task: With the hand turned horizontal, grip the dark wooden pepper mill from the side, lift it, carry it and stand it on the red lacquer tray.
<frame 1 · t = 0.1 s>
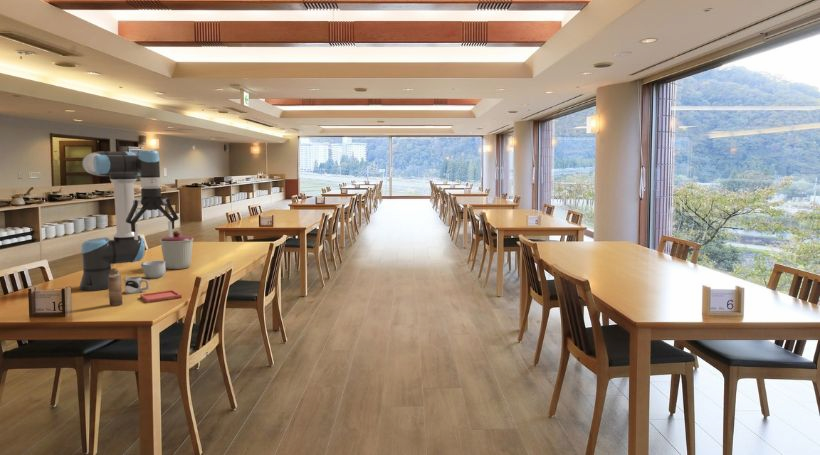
hand: (153, 238, 233), 28 cm above the table, tool pointing down, fingers open, 13 cm apart
tray: (161, 297, 245), on the table
pepper mill: (116, 304, 233), on the table
mug: (137, 292, 256), on the table
canister: (178, 268, 313), on the table
teacup: (153, 277, 289), on the table
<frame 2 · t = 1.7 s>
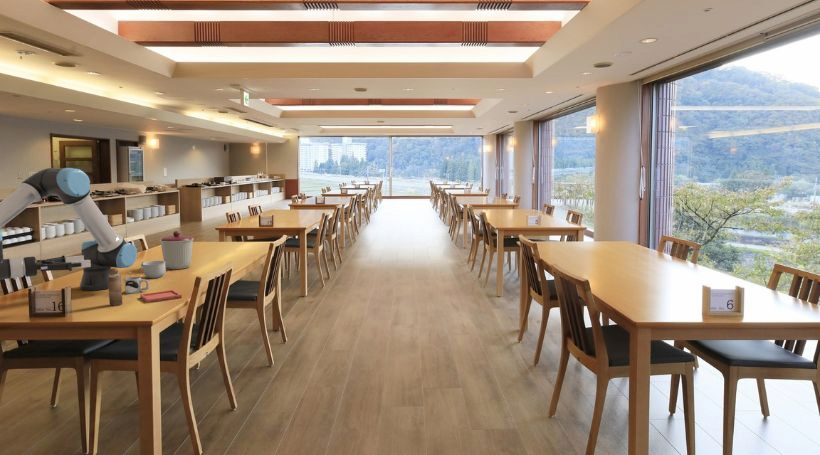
hand: (87, 261, 225), 20 cm above the table, tool horizontal, fingers open, 13 cm apart
nothing on the table moved.
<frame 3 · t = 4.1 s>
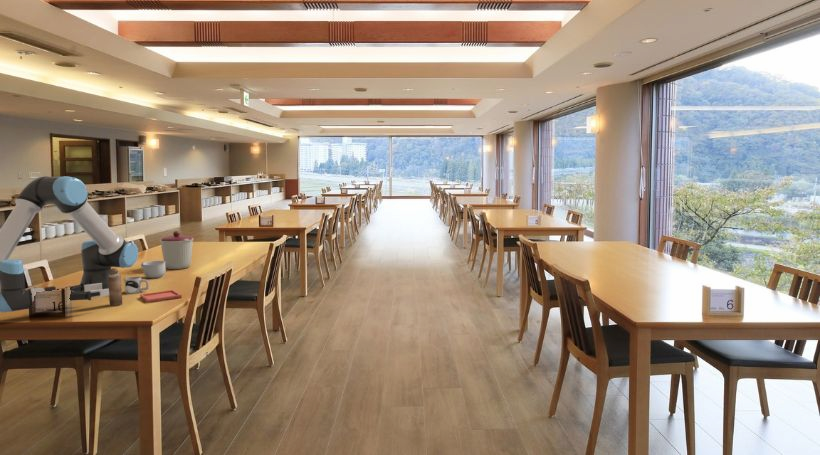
hand: (105, 289, 230), 7 cm above the table, tool horizontal, fingers open, 13 cm apart
nothing on the table moved.
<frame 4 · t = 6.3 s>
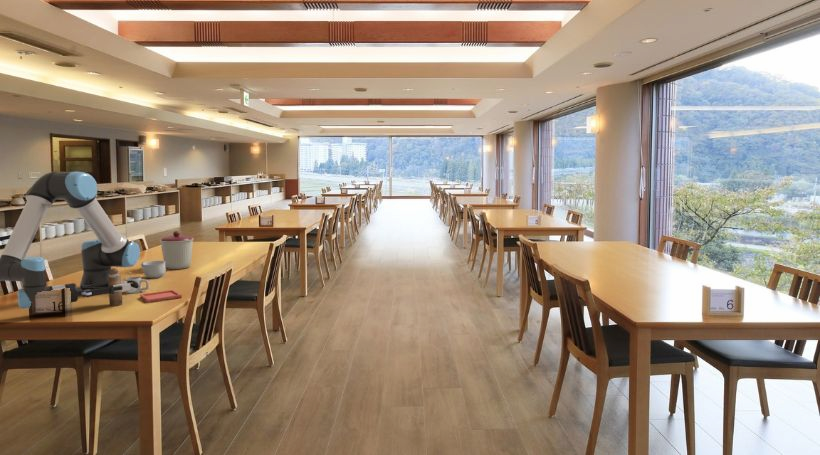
hand: (128, 285, 236), 8 cm above the table, tool horizontal, fingers closed on pepper mill, 5 cm apart
pepper mill: (116, 304, 233), on the table, touching gripper
everything else where it was.
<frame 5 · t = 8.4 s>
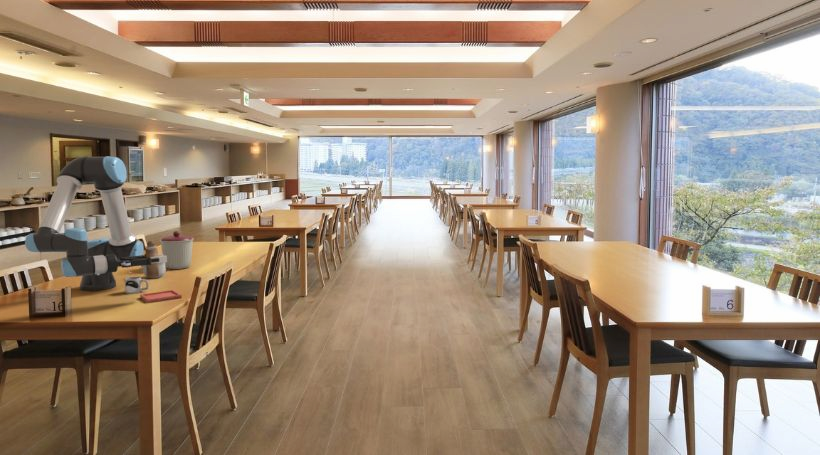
hand: (164, 257, 243), 18 cm above the table, tool horizontal, fingers closed on pepper mill, 5 cm apart
pepper mill: (152, 276, 241), point 10 cm above the table, touching gripper
everything else where it was.
when the fingers open (10 cm above the table, at t = 10.5 s): pepper mill drops 1 cm, resting on tray.
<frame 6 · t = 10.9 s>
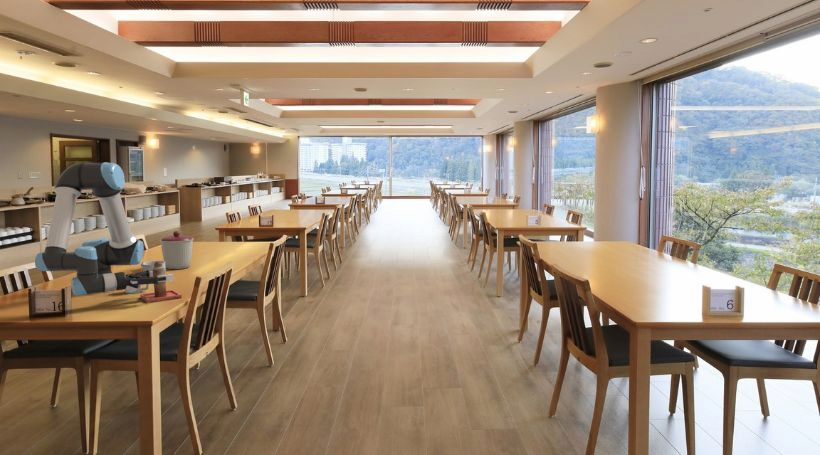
hand: (169, 274, 246), 10 cm above the table, tool horizontal, fingers open, 11 cm apart
pepper mill: (160, 295, 244), point 1 cm above the table, touching tray
everything else where it was.
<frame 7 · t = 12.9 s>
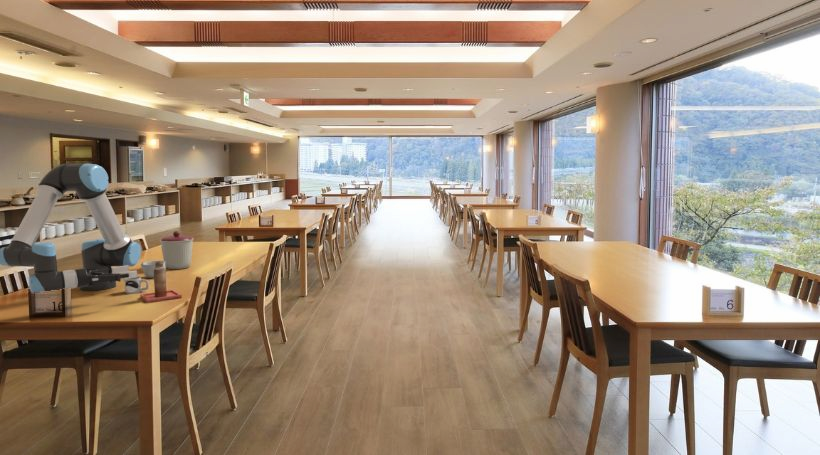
hand: (132, 271, 236), 13 cm above the table, tool horizontal, fingers open, 13 cm apart
nothing on the table moved.
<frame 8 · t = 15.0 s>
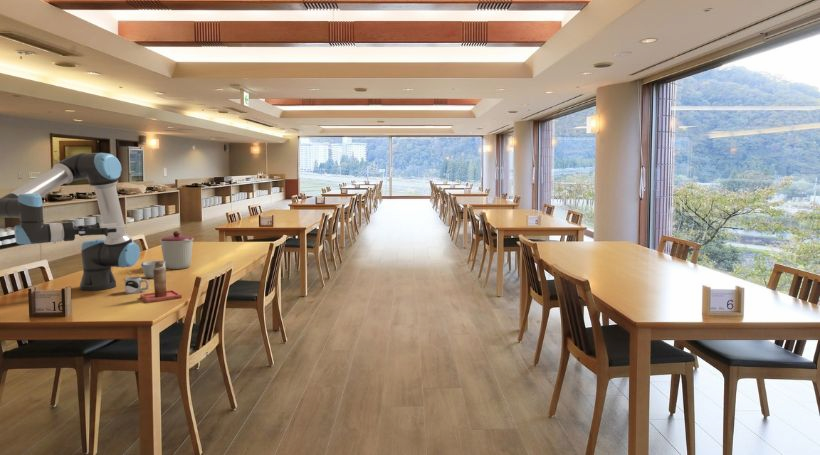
hand: (120, 227, 234), 32 cm above the table, tool horizontal, fingers open, 13 cm apart
nothing on the table moved.
at the end: pepper mill inside the target area on the tray (0.0 cm from its centre), point 0.8 cm above the tray's base; pepper mill tilted 0°; the gripper is holding nothing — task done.
